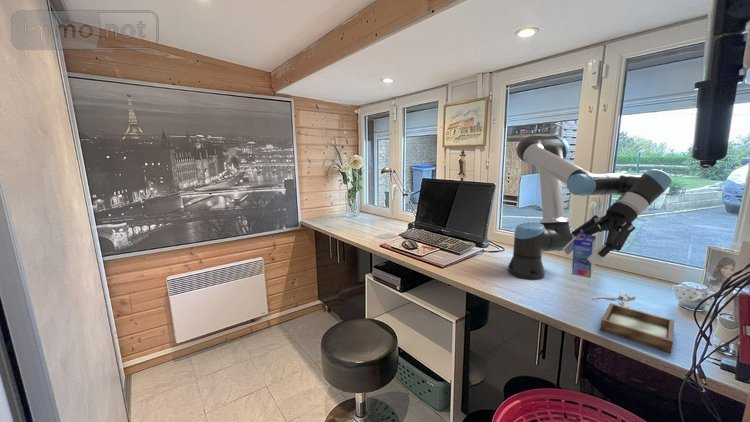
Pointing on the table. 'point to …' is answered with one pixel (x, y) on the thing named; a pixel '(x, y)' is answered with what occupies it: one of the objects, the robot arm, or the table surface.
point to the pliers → (621, 296)
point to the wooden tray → (639, 327)
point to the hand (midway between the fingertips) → (576, 256)
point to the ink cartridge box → (583, 255)
